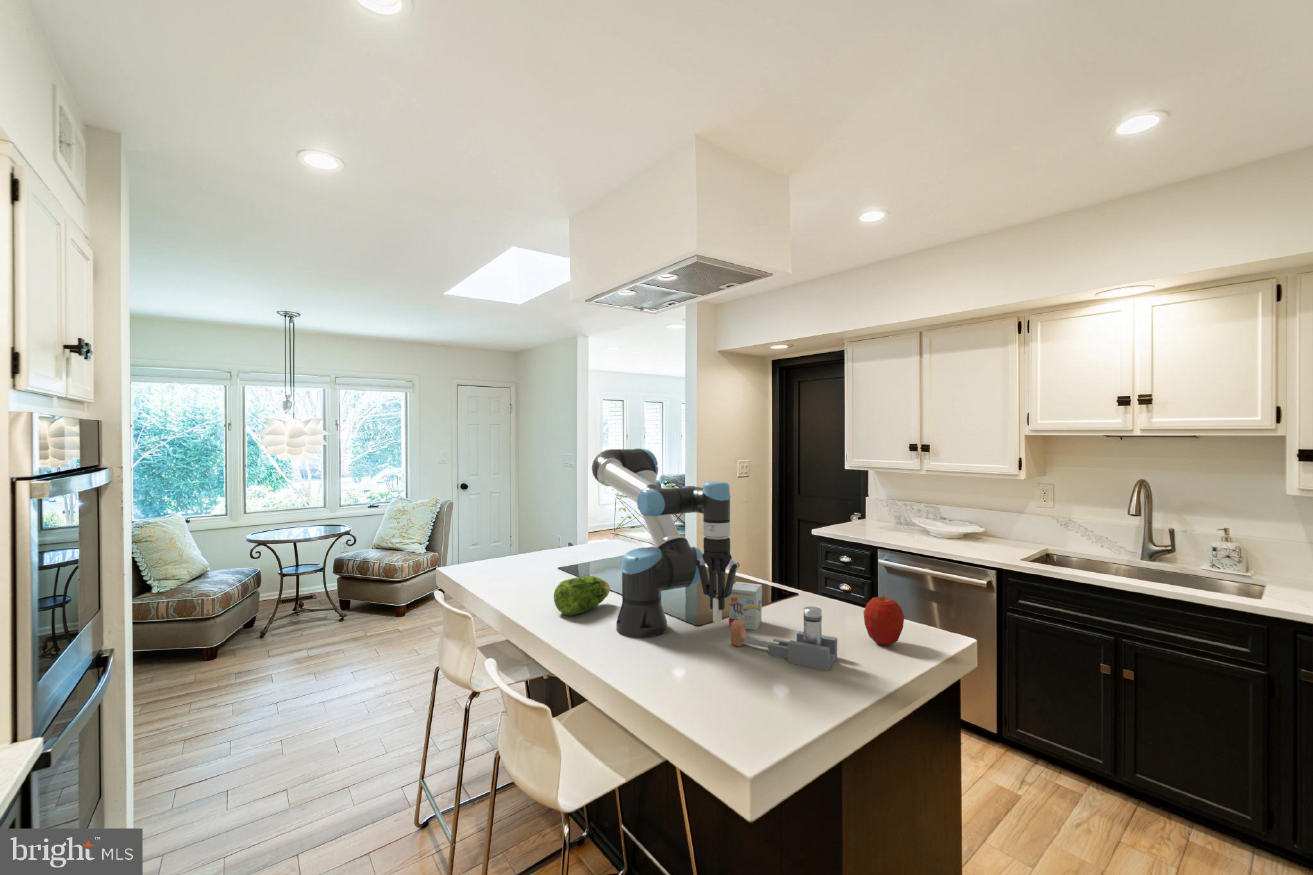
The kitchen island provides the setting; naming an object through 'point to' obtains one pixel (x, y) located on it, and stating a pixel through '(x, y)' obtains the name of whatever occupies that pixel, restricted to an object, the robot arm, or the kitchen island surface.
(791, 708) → the kitchen island surface
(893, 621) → the apple
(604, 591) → the green rounded piece
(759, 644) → the pin
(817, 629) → the grey cylinder
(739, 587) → the ink box
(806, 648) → the mount
